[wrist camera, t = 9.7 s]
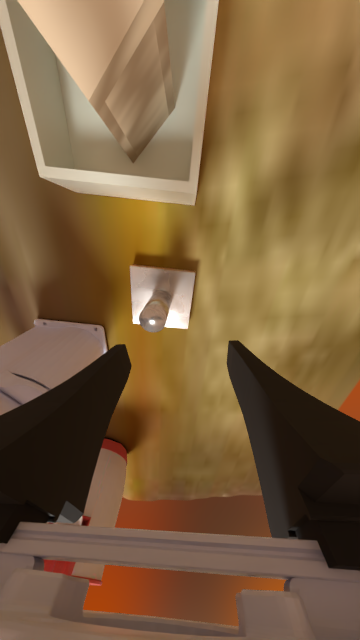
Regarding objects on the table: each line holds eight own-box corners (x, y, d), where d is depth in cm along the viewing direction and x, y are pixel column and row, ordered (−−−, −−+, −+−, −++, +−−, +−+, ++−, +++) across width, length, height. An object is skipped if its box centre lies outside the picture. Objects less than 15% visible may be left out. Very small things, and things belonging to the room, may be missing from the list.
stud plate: (136, 318, 20) (116, 347, 15) (133, 264, 17) (107, 275, 11) (187, 324, 20) (187, 355, 15) (195, 270, 17) (198, 285, 12)
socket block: (133, 163, 13) (88, 100, 7) (87, 98, 11) (-19, -51, 5) (174, 108, 11) (161, -30, 5) (128, 23, 10) (40, -291, 4)
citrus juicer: (141, 436, 35) (93, 638, 17) (129, 465, 43) (88, 624, 25) (72, 420, 33) (-61, 627, 15) (73, 454, 41) (-14, 615, 23)
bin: (76, 192, 14) (39, 176, 11) (33, -48, 9) (-68, -237, 5) (194, 205, 14) (196, 193, 11) (221, -28, 9) (242, -202, 5)
